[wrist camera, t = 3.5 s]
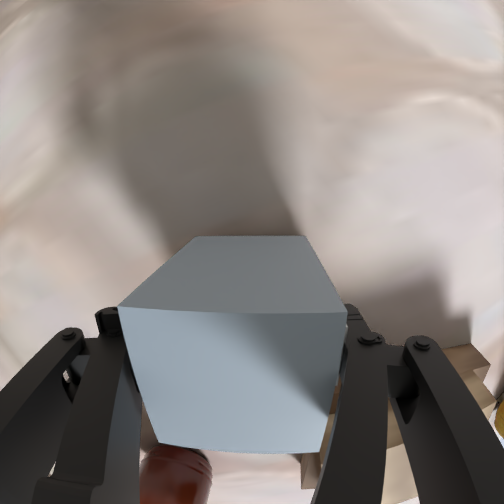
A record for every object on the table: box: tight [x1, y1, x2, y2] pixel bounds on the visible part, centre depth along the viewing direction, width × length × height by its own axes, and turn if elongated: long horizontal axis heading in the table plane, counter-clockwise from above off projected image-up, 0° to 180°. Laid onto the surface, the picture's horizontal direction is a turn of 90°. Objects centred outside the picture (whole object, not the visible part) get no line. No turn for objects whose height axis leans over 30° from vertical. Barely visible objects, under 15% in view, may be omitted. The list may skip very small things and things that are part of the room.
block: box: [117, 236, 348, 454], centre depth 12 cm, size 6×6×9 cm
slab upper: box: [320, 369, 497, 504], centre depth 15 cm, size 12×12×4 cm
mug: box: [139, 445, 212, 504], centre depth 19 cm, size 12×9×10 cm
